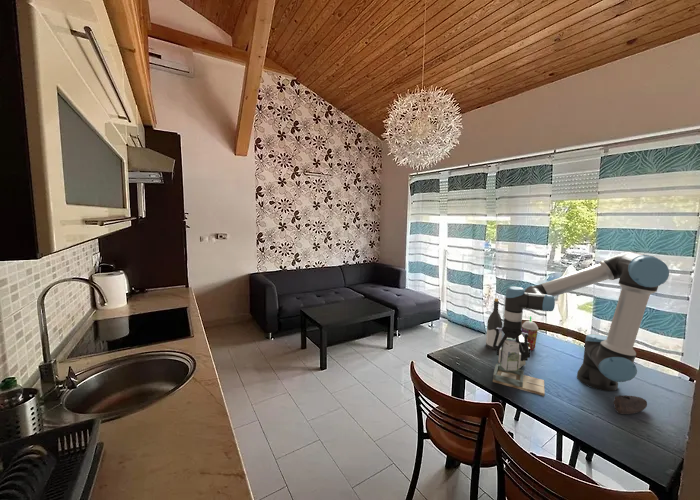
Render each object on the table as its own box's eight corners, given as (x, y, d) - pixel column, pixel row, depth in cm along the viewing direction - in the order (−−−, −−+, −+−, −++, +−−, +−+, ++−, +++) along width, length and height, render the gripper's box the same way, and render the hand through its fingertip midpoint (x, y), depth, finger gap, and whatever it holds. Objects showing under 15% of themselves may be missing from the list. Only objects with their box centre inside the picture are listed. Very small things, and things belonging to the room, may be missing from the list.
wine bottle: (501, 345, 182) (504, 298, 178) (499, 350, 175) (503, 301, 171) (487, 342, 186) (490, 296, 182) (485, 347, 180) (488, 299, 175)
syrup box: (511, 365, 148) (513, 337, 146) (518, 371, 142) (520, 342, 140) (499, 365, 148) (501, 337, 146) (506, 371, 142) (508, 342, 140)
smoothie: (516, 346, 181) (519, 314, 178) (527, 344, 183) (530, 313, 181) (528, 352, 173) (531, 319, 170) (539, 350, 175) (542, 318, 173)
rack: (543, 382, 143) (544, 375, 143) (544, 396, 133) (545, 388, 132) (495, 370, 154) (496, 363, 154) (492, 381, 144) (493, 374, 143)
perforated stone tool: (639, 406, 126) (641, 391, 125) (652, 415, 121) (655, 399, 120) (607, 409, 124) (609, 393, 123) (619, 417, 119) (621, 401, 118)
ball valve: (531, 375, 149) (534, 341, 147) (512, 373, 151) (515, 340, 149) (518, 358, 167) (521, 327, 164) (502, 356, 168) (504, 326, 166)
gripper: (538, 321, 139) (534, 366, 142) (490, 312, 150) (487, 355, 153) (538, 326, 133) (533, 373, 136) (488, 317, 144) (485, 361, 147)
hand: (509, 363), depth 145 cm, fingers closed on syrup box, 8 cm apart
